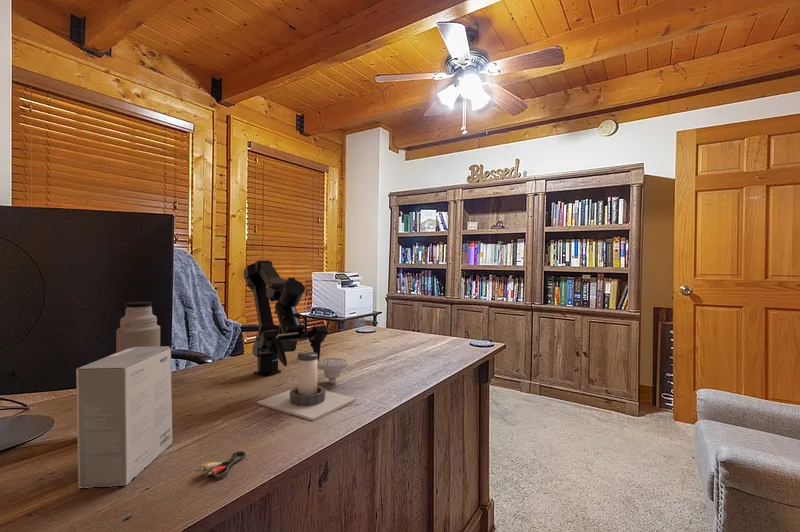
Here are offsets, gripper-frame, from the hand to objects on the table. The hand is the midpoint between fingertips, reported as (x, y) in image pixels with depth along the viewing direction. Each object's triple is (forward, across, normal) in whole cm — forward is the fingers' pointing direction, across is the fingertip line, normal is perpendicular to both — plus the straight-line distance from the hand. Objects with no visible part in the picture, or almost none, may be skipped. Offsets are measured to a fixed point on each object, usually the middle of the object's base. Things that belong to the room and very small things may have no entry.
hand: (302, 363), depth 104 cm
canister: (+9, 0, -4) cm, 10 cm away
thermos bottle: (+5, +37, -9) cm, 38 cm away
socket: (+9, 0, -4) cm, 10 cm away
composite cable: (+25, +25, +12) cm, 37 cm away
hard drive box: (+17, +39, +3) cm, 42 cm away
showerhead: (+2, -13, -12) cm, 18 cm away
